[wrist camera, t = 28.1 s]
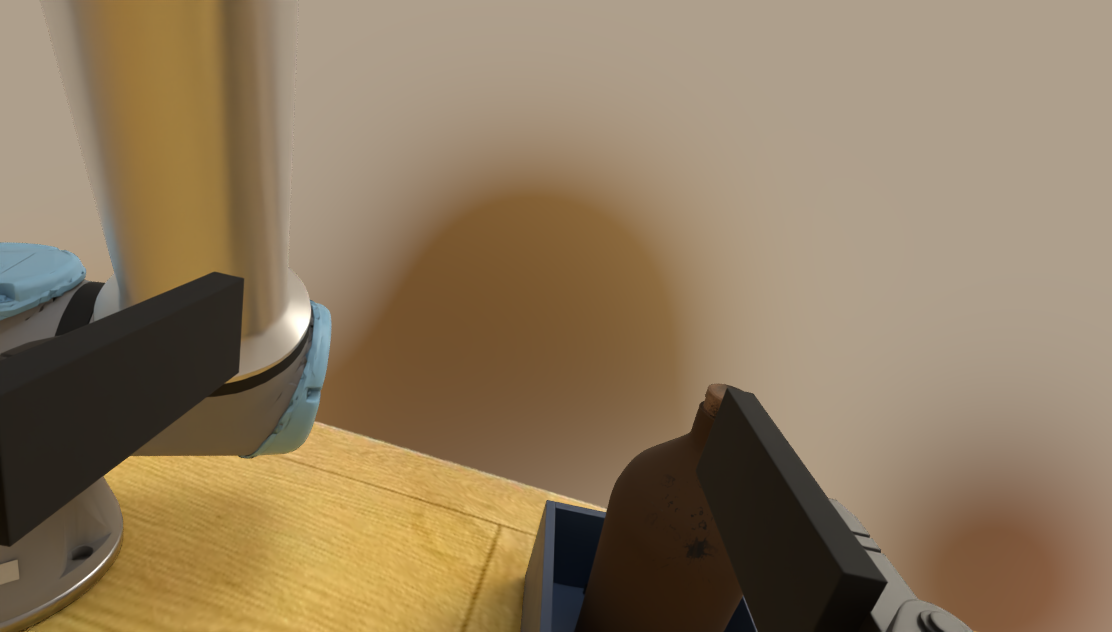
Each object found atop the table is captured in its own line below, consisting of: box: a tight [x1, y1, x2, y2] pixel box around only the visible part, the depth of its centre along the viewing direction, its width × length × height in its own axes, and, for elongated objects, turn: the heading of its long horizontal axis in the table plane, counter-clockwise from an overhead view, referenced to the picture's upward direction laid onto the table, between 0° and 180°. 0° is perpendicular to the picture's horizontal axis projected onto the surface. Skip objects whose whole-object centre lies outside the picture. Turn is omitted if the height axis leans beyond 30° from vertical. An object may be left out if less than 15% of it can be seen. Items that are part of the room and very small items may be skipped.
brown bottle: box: [574, 384, 743, 632], centre depth 39 cm, size 11×11×25 cm
